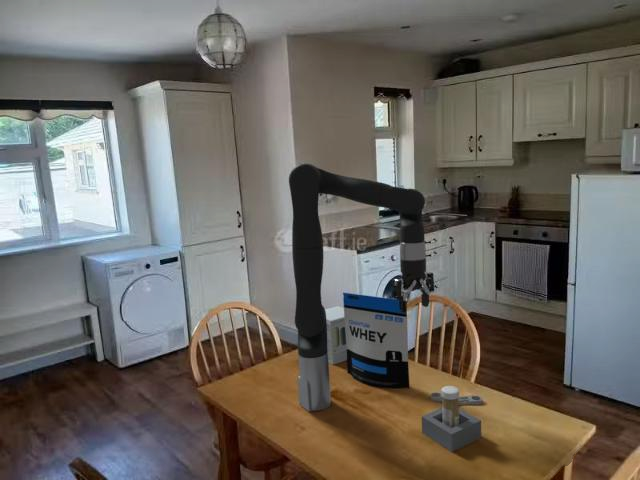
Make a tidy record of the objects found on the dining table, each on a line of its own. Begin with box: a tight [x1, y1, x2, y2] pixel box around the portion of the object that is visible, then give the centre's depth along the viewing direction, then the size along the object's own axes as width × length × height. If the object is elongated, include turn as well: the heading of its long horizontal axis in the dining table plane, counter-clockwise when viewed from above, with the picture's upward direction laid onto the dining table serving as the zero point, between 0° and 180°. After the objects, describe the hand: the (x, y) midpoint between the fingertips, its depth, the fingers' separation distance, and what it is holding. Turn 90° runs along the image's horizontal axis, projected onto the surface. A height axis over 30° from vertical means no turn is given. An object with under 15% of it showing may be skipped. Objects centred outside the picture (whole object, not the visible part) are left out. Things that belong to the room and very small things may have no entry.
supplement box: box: [324, 305, 347, 366], centre depth 189 cm, size 13×13×18 cm
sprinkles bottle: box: [440, 385, 460, 428], centre depth 131 cm, size 5×5×14 cm
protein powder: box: [342, 292, 410, 390], centre depth 164 cm, size 10×24×30 cm, turn 54°
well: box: [421, 407, 482, 453], centre depth 131 cm, size 11×11×5 cm
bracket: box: [429, 391, 483, 406], centre depth 150 cm, size 8×2×15 cm
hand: (414, 309), depth 146 cm, fingers open, 8 cm apart
